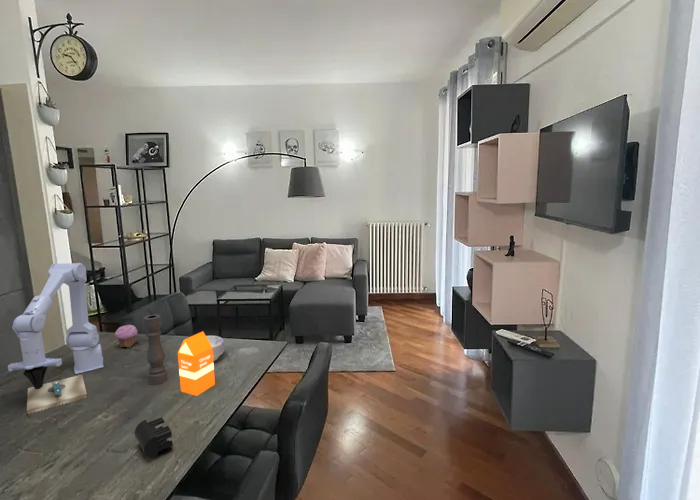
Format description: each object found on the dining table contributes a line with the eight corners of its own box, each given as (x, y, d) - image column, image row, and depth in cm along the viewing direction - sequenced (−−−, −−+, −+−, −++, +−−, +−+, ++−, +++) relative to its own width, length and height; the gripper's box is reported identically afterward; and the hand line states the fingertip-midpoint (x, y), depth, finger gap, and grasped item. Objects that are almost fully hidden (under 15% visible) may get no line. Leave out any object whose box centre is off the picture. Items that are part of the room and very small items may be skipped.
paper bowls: (232, 356, 165) (231, 339, 164) (201, 371, 152) (200, 352, 151) (209, 349, 173) (207, 332, 172) (178, 362, 160) (176, 344, 159)
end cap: (135, 445, 109) (133, 423, 108) (162, 434, 113) (160, 413, 112) (145, 464, 101) (143, 440, 100) (173, 451, 106) (171, 429, 105)
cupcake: (112, 349, 174) (109, 328, 172) (126, 342, 182) (124, 321, 181) (129, 350, 172) (127, 329, 171) (143, 343, 181) (141, 322, 179)
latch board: (82, 378, 148) (82, 373, 148) (87, 397, 134) (86, 393, 134) (28, 392, 138) (27, 387, 138) (27, 414, 124) (26, 409, 124)
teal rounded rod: (51, 387, 137) (51, 381, 137) (60, 384, 139) (59, 379, 139) (54, 397, 131) (53, 391, 130) (63, 394, 132) (62, 389, 132)
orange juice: (215, 384, 142) (211, 332, 139) (196, 396, 134) (192, 341, 131) (199, 380, 145) (195, 329, 142) (180, 391, 137) (175, 337, 134)
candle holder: (171, 378, 147) (165, 315, 143) (158, 386, 141) (151, 320, 137) (158, 375, 149) (152, 313, 145) (145, 383, 143) (138, 318, 139)
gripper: (-1, 357, 122) (6, 396, 125) (52, 352, 126) (57, 390, 128) (12, 348, 129) (19, 385, 131) (62, 343, 132) (67, 380, 135)
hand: (39, 387), depth 130 cm, fingers closed
